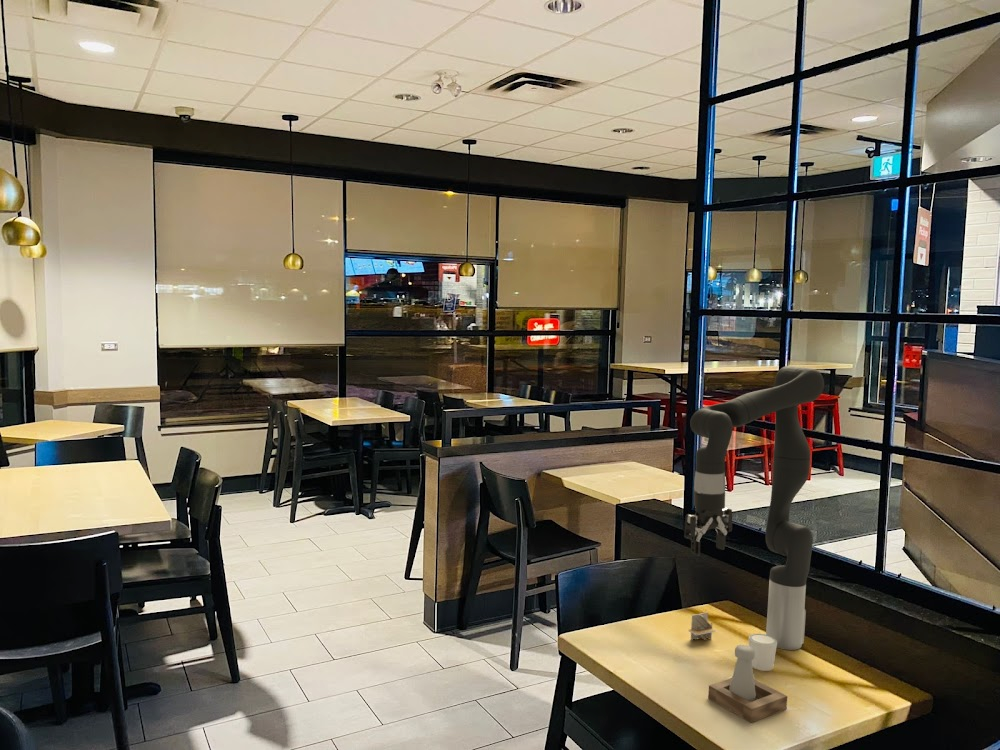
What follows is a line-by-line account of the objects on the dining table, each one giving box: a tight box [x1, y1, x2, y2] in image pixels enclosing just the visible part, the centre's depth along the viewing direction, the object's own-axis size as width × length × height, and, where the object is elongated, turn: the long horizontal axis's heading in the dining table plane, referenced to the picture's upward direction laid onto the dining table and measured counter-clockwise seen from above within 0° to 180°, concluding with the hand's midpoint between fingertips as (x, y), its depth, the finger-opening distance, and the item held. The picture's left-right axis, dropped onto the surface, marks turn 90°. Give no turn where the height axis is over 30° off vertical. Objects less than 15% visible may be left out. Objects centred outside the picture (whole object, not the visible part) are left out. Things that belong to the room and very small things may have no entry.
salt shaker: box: [729, 644, 756, 702], centre depth 168 cm, size 6×6×13 cm
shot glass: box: [748, 633, 778, 672], centre depth 188 cm, size 7×7×7 cm
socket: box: [707, 677, 788, 723], centre depth 169 cm, size 12×12×3 cm
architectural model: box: [688, 611, 716, 641], centre depth 201 cm, size 3×7×7 cm, turn 117°
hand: (708, 551), depth 188 cm, fingers open, 8 cm apart
